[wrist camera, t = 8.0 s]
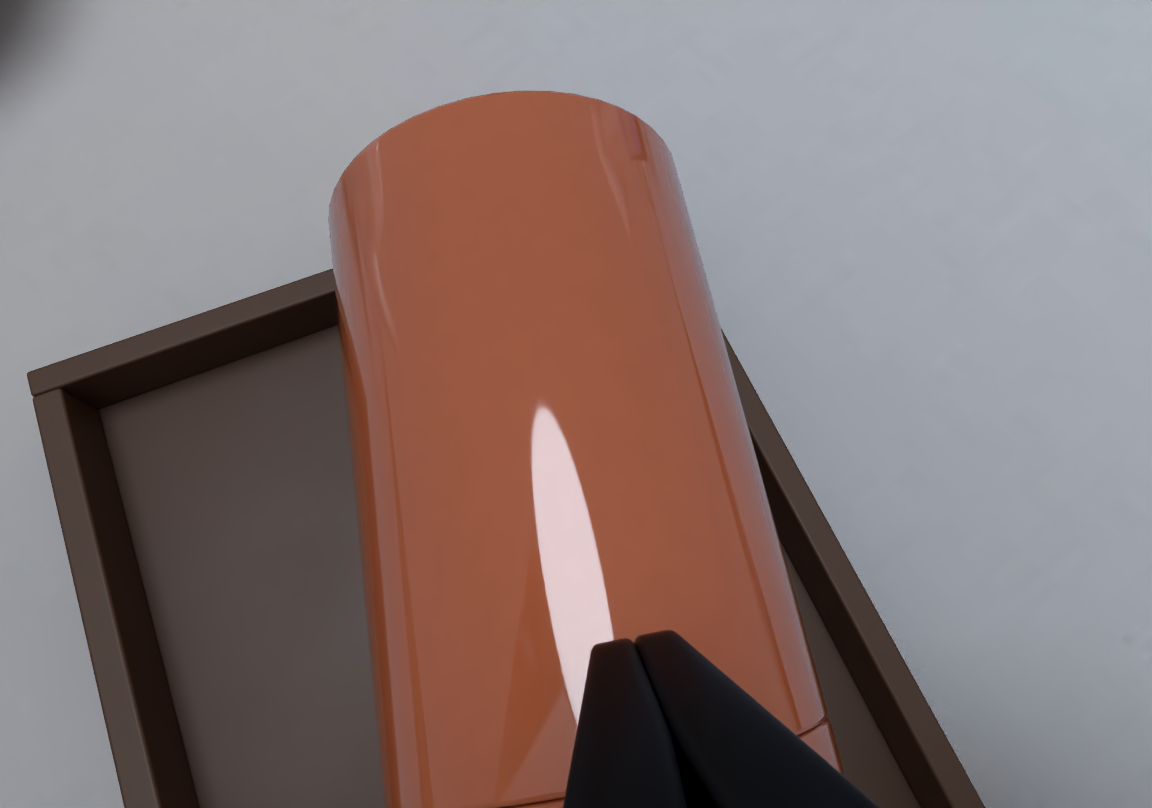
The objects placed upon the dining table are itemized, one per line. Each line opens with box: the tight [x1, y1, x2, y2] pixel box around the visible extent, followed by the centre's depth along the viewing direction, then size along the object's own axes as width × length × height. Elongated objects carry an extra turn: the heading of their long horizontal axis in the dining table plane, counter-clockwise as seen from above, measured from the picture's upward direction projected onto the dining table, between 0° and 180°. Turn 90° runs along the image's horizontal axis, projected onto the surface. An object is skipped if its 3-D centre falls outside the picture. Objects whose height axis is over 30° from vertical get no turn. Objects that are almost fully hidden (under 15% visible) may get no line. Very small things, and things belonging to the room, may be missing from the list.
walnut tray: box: [27, 269, 985, 808], centre depth 15 cm, size 21×14×2 cm
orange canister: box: [328, 91, 844, 808], centre depth 13 cm, size 7×7×11 cm
